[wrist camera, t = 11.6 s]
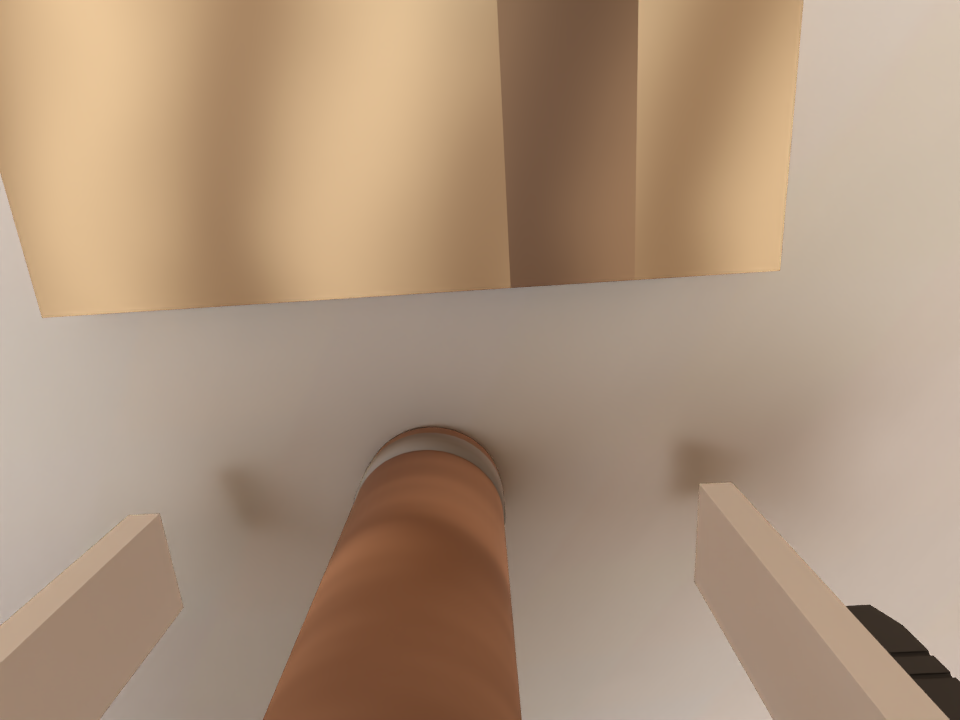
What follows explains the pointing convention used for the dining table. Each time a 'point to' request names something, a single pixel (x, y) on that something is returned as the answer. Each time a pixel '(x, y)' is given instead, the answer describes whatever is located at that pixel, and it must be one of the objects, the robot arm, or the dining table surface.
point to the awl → (412, 596)
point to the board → (389, 145)
